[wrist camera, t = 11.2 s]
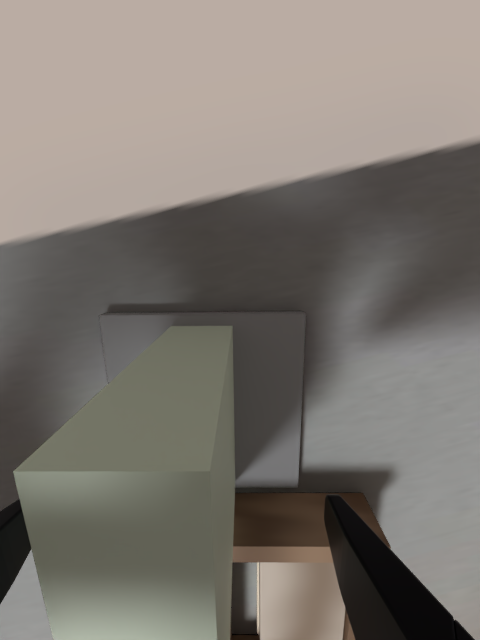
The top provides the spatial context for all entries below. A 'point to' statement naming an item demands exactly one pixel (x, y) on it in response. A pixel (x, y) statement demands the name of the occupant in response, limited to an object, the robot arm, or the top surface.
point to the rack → (289, 531)
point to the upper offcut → (300, 602)
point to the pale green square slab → (141, 499)
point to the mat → (238, 381)
